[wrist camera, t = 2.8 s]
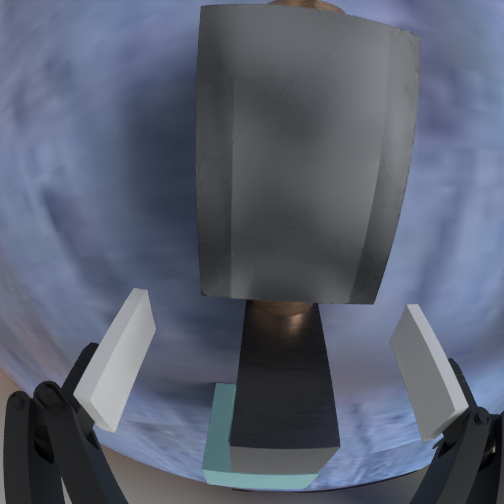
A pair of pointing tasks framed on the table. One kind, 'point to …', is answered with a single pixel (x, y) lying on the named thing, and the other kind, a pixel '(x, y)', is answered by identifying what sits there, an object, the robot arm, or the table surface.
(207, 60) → the sleeve
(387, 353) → the table surface
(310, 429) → the hammer
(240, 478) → the socket
